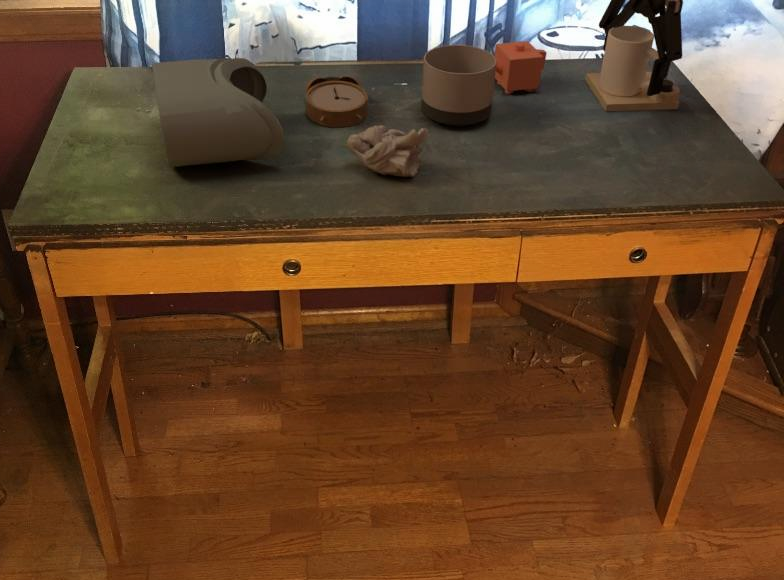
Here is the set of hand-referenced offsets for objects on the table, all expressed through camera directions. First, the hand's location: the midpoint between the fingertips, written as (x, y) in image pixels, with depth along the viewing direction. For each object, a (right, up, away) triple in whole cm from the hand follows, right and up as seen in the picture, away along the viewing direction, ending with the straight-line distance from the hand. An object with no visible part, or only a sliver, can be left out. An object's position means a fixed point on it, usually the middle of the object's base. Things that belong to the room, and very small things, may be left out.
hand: (629, 81), depth 163 cm
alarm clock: (-56, -7, -3) cm, 56 cm away
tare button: (+6, -2, -1) cm, 7 cm away
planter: (-33, -8, -4) cm, 35 cm away
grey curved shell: (-74, -17, -15) cm, 78 cm away
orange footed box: (-22, +1, +5) cm, 22 cm away
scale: (+1, -1, +4) cm, 4 cm away
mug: (0, -2, +1) cm, 2 cm away
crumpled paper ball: (-46, -22, -19) cm, 54 cm away
